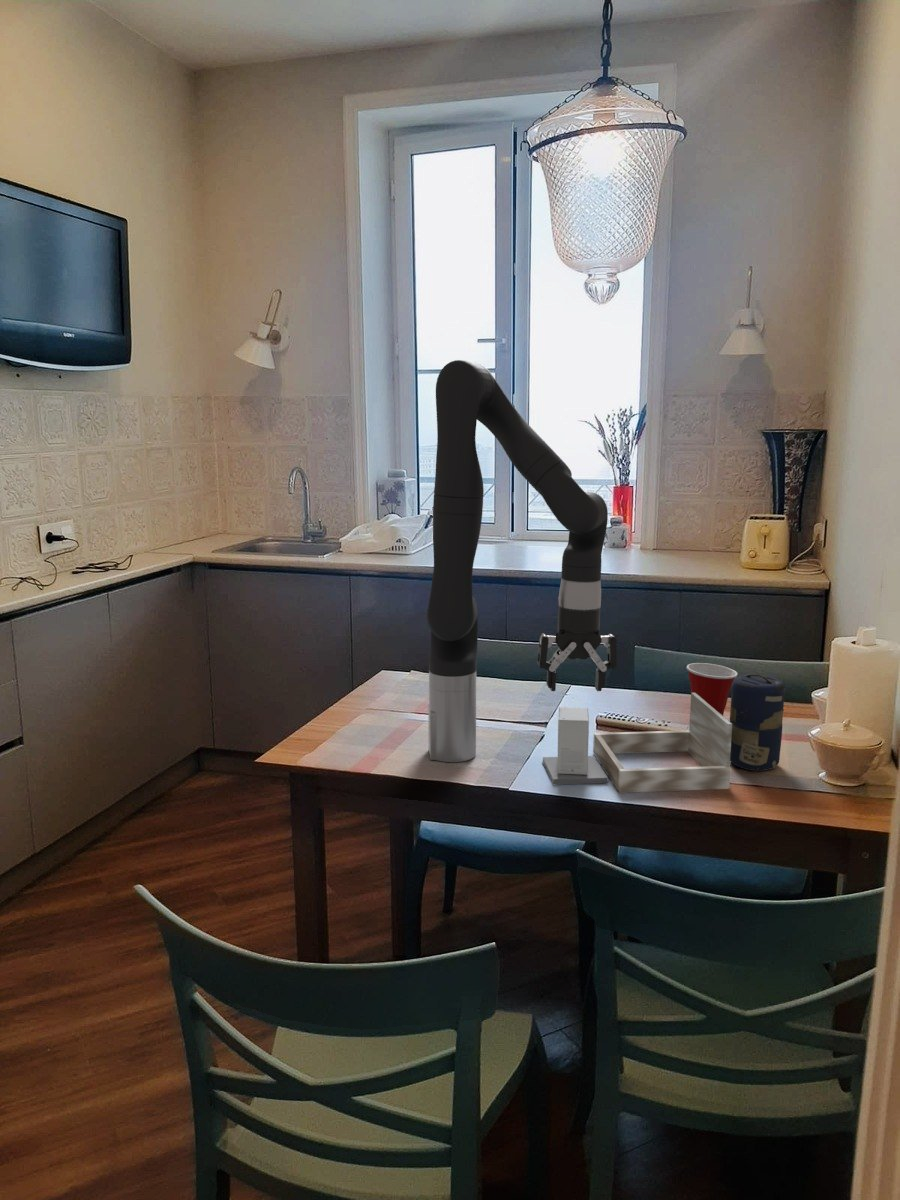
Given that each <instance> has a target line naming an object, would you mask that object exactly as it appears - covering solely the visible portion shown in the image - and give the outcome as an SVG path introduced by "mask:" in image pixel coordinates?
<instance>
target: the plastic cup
mask: <svg viewBox="0 0 900 1200" xmlns="http://www.w3.org/2000/svg"><path fill="white" fill-rule="evenodd" d="M686 670H687V672H688V673H687V674H688V677H689V681H688V682H689V685H690V694H691V693H696V694H697V695H699V696H700V697H701V698H702V699H703V700H704V701H706V702H707V703H708V704H709V705H710V706H712V707H713V708H714V709H715V710H716V711H717V712H719V713H720V714H721V715H722V716H723V717H724V713H725V709H726V707H727V703H728V700H729V696H730V691H731V688H732V683H733V680H734V679H735V678H736V677H738V672H737V671H736V670H734V669H732V668H729V667H727V666H724V665H719V664H714V663H708V662H707V663H704V662H696V663H695V662H693V663H689V664H687V665H686Z"/></svg>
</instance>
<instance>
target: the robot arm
mask: <svg viewBox="0 0 900 1200" xmlns="http://www.w3.org/2000/svg"><path fill="white" fill-rule="evenodd" d="M509 399H510V398H508V396H507V395H506V393H505V392H504V391H503V388H501V386H500V384H499V383H498V382H497V380H496V379H495V377H494V376H493V374H492V372H491V371H490V370H489V369H488V368H487V367H486V366H484V365H482V364H481V363H477V362H472V361H468V360H461V359H456V360H453V361H450V362H448V363H447V364H445V365H444V366H443V368H441V370H440V371H439V373H438V376H437V378H436V383H435V407H436V409H435V410H436V428H437V429H436V431H437V434H436V435H437V438H436V439H437V443H436V455H435V456H436V457H435V474H434V475H435V476H434V477H435V478H434V489H433V503H432V505H433V506H432V547H433V551H432V552H433V571H432V580H431V588H430V594H429V601H428V606H427V610H426V621H427V624H428V627H429V628H430V645H429V646H430V648H429V655H428V689H429V690H428V696H429V697H428V706H427V707H428V713H427V714H428V715H427V717H428V753H429V760H430V761H438V762H439V761H440V762H445V763H459V762H460V763H461V762H466V761H469V760H472V759H474V758H475V757H476V756H477V755H476V754H477V659H478V658H477V657H478V637H479V636H478V634H479V613H478V612H479V611H478V610H479V609H478V604H477V603H478V602H477V601H476V599H475V597H474V595H473V570H474V562H475V558H476V552H477V549H478V543H479V539H480V534H481V530H482V529H481V527H482V519H483V512H484V511H483V509H484V508H483V507H484V480H483V474H482V470H481V465H480V461H479V457H478V453H477V452H478V451H477V446H476V445H477V444H476V441H477V440H476V435H477V434H476V432H477V421H478V422H479V423H481V424H482V425H483V426H485V428H486V429H488V430H489V431H490V433H491V434H492V435H493V436H494V437H495V438H496V440H497V441H498V443H499V444H500V445H501V447H502V449H503V450H504V452H505V454H506V456H507V457H508V458H509V460H510V462H511V464H513V466H514V467H515V469H516V470H517V471H518V473H520V474H521V476H522V477H523V478H524V479H525V480H526V481H527V482H528V483H529V484H530V486H531V487H532V488H534V490H535V491H536V492H537V493H538V494H539V495H540V496H541V497H542V499H543V500H544V502H545V504H546V505H547V507H548V509H549V510H550V511H551V513H552V514H553V516H554V517H555V518H556V519H557V521H558V522H559V523H560V524H561V525H562V527H564V528H565V529H566V530H567V531H568V541H567V545H566V547H565V548H564V550H563V553H562V560H561V574H560V575H561V577H560V578H561V579H560V585H559V592H558V593H559V594H558V599H557V602H558V611H557V613H558V615H557V631H556V633H555V635H548V634H547V635H546V634H545V633H541V634H540V635H539V641H538V650H537V661H536V663H537V665H538V666H539V668H541V669H545V670H546V682H545V683H546V685H547V687H548V688H549V690H550V691H551V692H556V688H557V687H556V686H557V671H556V670H557V669H558V668H559V667H560V665H561V664H563V663H564V661H565V660H566V659H569V660H577V659H579V660H587V659H589V658H591V660H592V661H593V662H594V663H595V665H596V666H597V668H596V669H595V680H594V683H595V684H594V688H595V690H596V692H601V691H602V689H604V688H605V687H606V686H605V685H606V674H607V671H608V670H610V669H616V668H617V665H618V664H617V663H618V662H617V661H618V660H617V659H618V656H617V651H618V650H617V647H618V646H617V638H616V637H615V635H613V634H612V633H608V634H606V635H601V634H600V625H601V608H602V607H601V603H602V585H601V583H602V582H601V581H602V580H601V578H602V553H603V548H604V543H605V539H606V533H607V525H608V521H609V520H608V519H609V518H608V515H609V514H608V506H607V503H606V501H605V499H604V498H603V497H602V496H601V495H600V494H598V493H596V492H592V491H591V492H590V491H587V492H586V491H584V489H582V487H581V486H580V485H579V484H578V482H577V481H576V479H574V478H573V477H572V475H573V474H572V471H571V469H570V468H569V466H568V465H567V464H566V462H564V460H563V459H562V458H561V457H560V456H559V454H557V453H556V452H555V451H554V450H553V448H551V446H549V445H548V443H547V442H546V441H545V440H544V439H543V438H542V437H541V436H540V435H539V434H538V433H537V431H535V430H534V428H532V427H531V425H530V424H529V423H528V422H527V421H526V419H525V418H523V417H522V415H521V414H520V413H519V411H518V410H517V409H516V408H515V406H514V405H513V403H512V402H511V401H510V400H509ZM553 643H555V644H556V646H557V647H558V649H557V650H556V651H555V652H554V653H553V655H552V657H551V658H550V659H549V660H548V658H547V657H548V650H549V648H551V647H552V645H553ZM601 643H603V646H604V647H605V648H606V660H605V661H603V660H602V658H601V657H600V655H599V654H598V653H597V651H596V650H597V648H599V646H600V645H601Z"/></svg>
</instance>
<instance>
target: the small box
mask: <svg viewBox="0 0 900 1200" xmlns="http://www.w3.org/2000/svg"><path fill="white" fill-rule="evenodd" d="M589 716H590V715H589V708H587V707H570V706H569V707H568V706H567V707H566V706H559V707H558V720H557V722H558V723H557V757H558V774H579V775H587V774H588V756H589V733H590V729H589V725H590V723H589V722H590V720H589Z"/></svg>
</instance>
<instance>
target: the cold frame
mask: <svg viewBox="0 0 900 1200" xmlns="http://www.w3.org/2000/svg"><path fill="white" fill-rule="evenodd" d="M689 706H690V710H689V711H690V712H689V724H688V725H689V730H688V729H687V730H658V731H655V730H654V731H652V730H651V731H626V732H625V731H624V732H618V731H617V732H593V742H592V743H593V746H592V747H593V748H592V749H593V750H592V753H593V754H594V757H595V758H596V760H597V761H598V763H599V764H600V766H601V767H602V769H603V770H604V772H605V774H606V775H607V777H608V778H609V779H610V780H611V782H612V783H613V784H614V786H615V788H616V790H617V791H618V792H619V793H645V792H646V793H647V792H648V793H649V792H676V791H677V792H679V791H706V790H708V791H709V790H730V784H731V771H732V769H731V766H730V765H731V761H730V753H731V737H732V723H730V720H728V719H727V718H726V717H724V715H723V716H722V715H721V714H720V713H719V712H717V711H716V710H715V709H714V708H713V707H712V706H710V705H709V704H708V703H707V702H706V701H704V700H703V699H702V698H701V697H700V696H699V695H697V694H696V693H691V692H690V705H689ZM671 752H672V753H675V752H677V753H679V752H688V753H689V754H690V755H691V756H692V757H693V758H694V760H696V762H698V764H700V765H701V766H679V767H678V766H677V767H675V766H674V767H647V768H645V767H644V768H641V767H640V768H624V766H623V765H622V763H621V762H620V761H619V759H618V758H617V756H616V755H615V754H637V753H638V754H639V753H640V754H642V753H671Z"/></svg>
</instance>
